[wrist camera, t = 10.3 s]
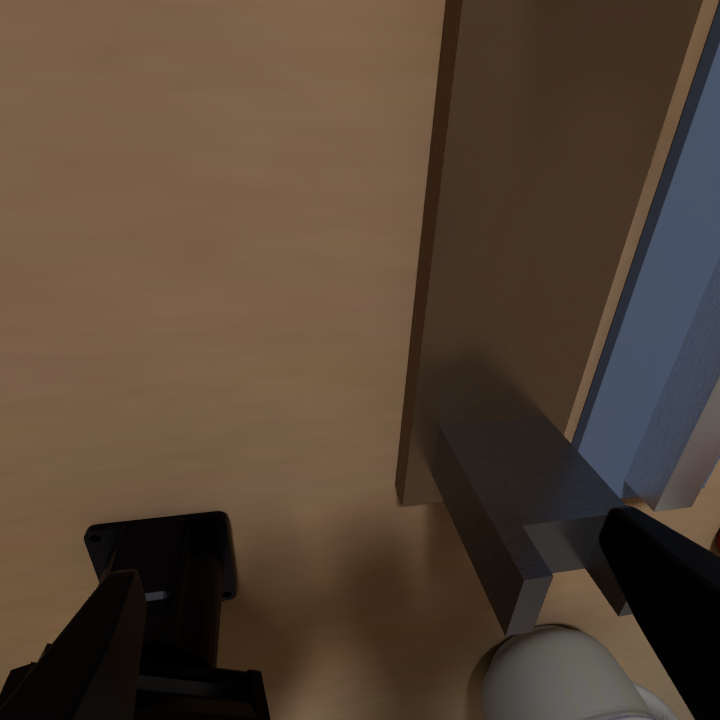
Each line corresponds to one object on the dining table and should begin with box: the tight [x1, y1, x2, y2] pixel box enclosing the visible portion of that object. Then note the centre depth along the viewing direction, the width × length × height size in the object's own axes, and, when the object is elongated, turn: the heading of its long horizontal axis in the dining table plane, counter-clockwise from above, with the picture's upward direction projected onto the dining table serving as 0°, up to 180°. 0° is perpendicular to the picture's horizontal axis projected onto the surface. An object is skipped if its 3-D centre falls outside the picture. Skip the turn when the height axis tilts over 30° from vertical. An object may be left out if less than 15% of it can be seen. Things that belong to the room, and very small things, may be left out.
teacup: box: [481, 625, 678, 720], centre depth 33 cm, size 14×11×8 cm
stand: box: [395, 0, 703, 636], centre depth 14 cm, size 29×8×10 cm, turn 178°
